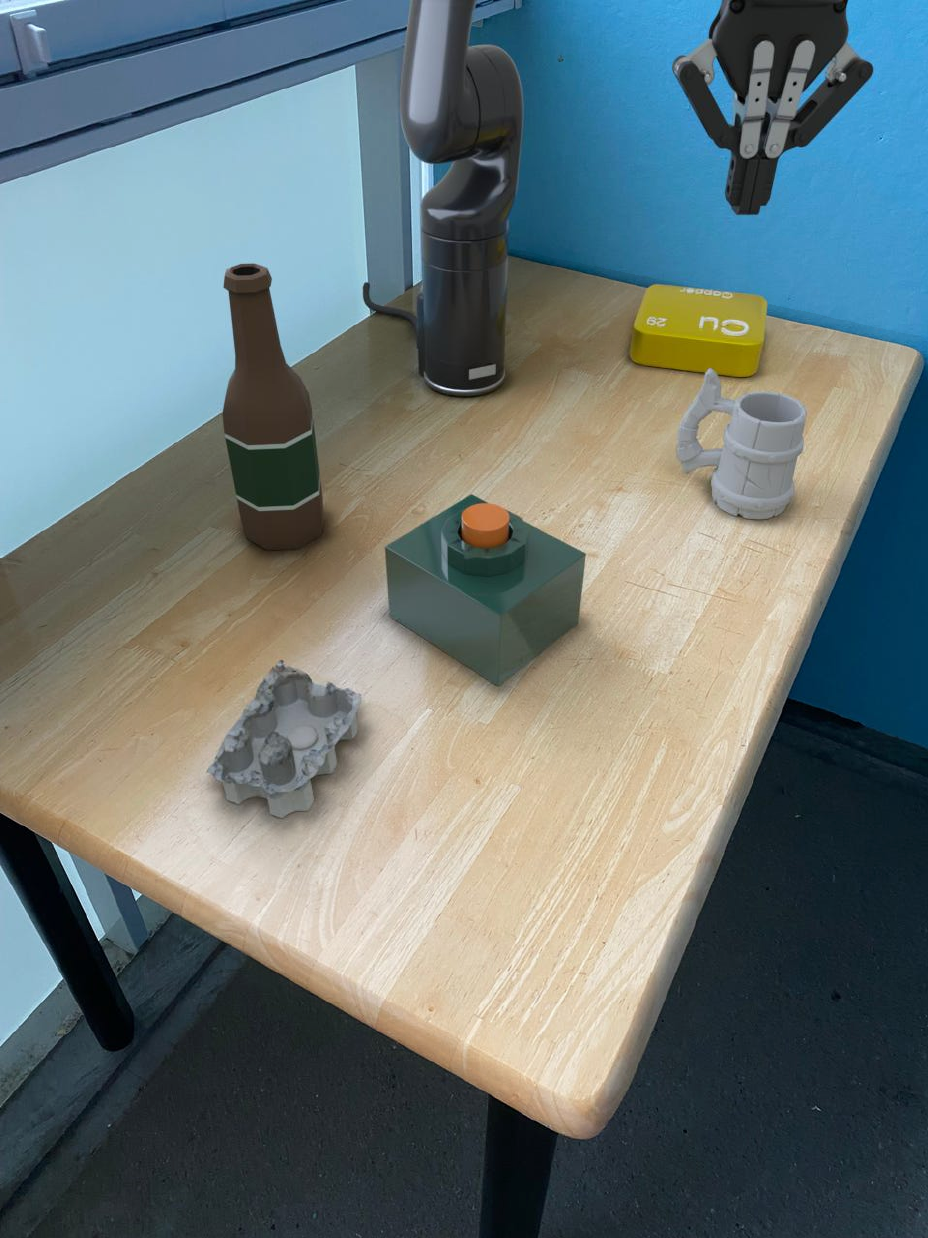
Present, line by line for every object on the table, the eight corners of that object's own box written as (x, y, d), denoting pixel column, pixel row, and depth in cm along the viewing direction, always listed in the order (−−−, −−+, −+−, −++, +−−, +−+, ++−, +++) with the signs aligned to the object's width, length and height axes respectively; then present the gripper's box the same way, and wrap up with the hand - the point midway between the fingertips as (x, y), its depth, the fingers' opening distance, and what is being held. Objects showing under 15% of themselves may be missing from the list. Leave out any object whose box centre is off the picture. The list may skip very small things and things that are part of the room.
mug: (779, 530, 86) (811, 414, 78) (656, 497, 90) (675, 383, 82) (798, 489, 91) (830, 376, 83) (681, 459, 95) (701, 349, 87)
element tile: (761, 327, 119) (769, 290, 116) (755, 380, 108) (764, 341, 105) (643, 314, 122) (648, 277, 119) (626, 364, 111) (631, 325, 108)
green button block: (389, 616, 77) (383, 527, 71) (470, 561, 82) (471, 475, 76) (498, 687, 71) (501, 596, 65) (578, 623, 76) (588, 534, 70)
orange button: (451, 535, 71) (451, 517, 70) (483, 516, 73) (483, 497, 72) (487, 555, 69) (487, 536, 68) (518, 534, 71) (519, 515, 70)
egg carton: (287, 692, 71) (281, 652, 68) (375, 722, 68) (372, 682, 65) (202, 794, 63) (191, 754, 60) (297, 832, 61) (290, 793, 58)
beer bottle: (258, 562, 82) (209, 297, 66) (231, 517, 87) (181, 260, 72) (340, 538, 85) (312, 278, 69) (310, 496, 90) (278, 244, 74)
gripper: (891, -105, 57) (819, 193, 68) (676, -105, 57) (640, 195, 68) (943, -94, 51) (855, 229, 63) (705, -94, 51) (660, 231, 62)
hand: (743, 211), depth 65 cm, fingers closed
